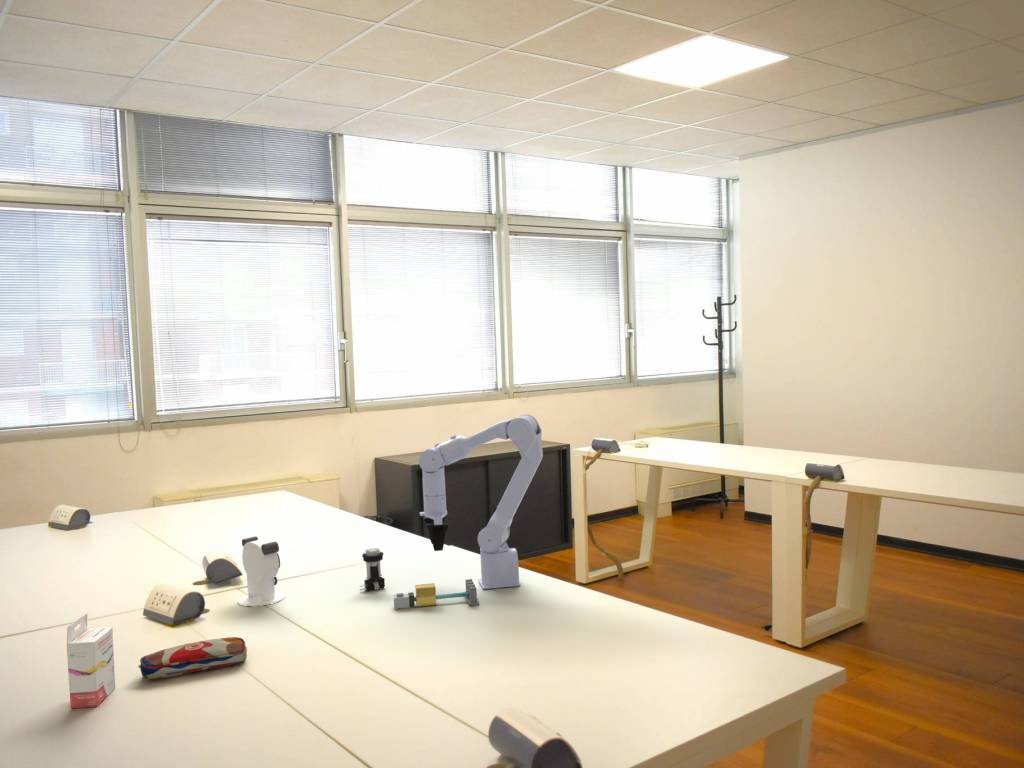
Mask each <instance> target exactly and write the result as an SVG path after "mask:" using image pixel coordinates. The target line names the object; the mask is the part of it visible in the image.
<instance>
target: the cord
mask: <svg viewBox="0 0 1024 768" xmlns="http://www.w3.org/2000/svg"><path fill="white" fill-rule="evenodd" d="M465 596H468V592H466V591H463V592H454V593H444V594H436V600H443V599H452V598H453V599H455V598H462V597H463V598H465ZM416 601H417V597H416V596H414V602H416Z"/></svg>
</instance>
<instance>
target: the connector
mask: <svg viewBox="0 0 1024 768" xmlns="http://www.w3.org/2000/svg"><path fill="white" fill-rule="evenodd" d="M409 607H410V606H409V595H408V593H404V592H396V594H393V608H394V610H398V608H403V609H410V608H409Z"/></svg>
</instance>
